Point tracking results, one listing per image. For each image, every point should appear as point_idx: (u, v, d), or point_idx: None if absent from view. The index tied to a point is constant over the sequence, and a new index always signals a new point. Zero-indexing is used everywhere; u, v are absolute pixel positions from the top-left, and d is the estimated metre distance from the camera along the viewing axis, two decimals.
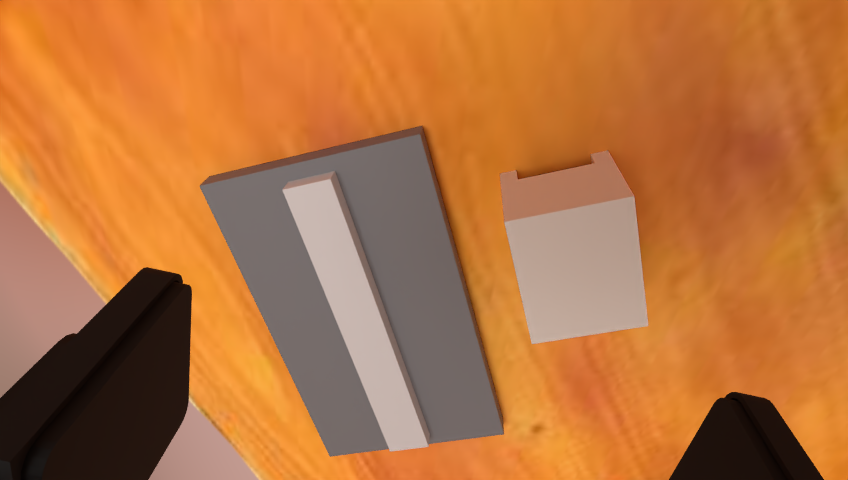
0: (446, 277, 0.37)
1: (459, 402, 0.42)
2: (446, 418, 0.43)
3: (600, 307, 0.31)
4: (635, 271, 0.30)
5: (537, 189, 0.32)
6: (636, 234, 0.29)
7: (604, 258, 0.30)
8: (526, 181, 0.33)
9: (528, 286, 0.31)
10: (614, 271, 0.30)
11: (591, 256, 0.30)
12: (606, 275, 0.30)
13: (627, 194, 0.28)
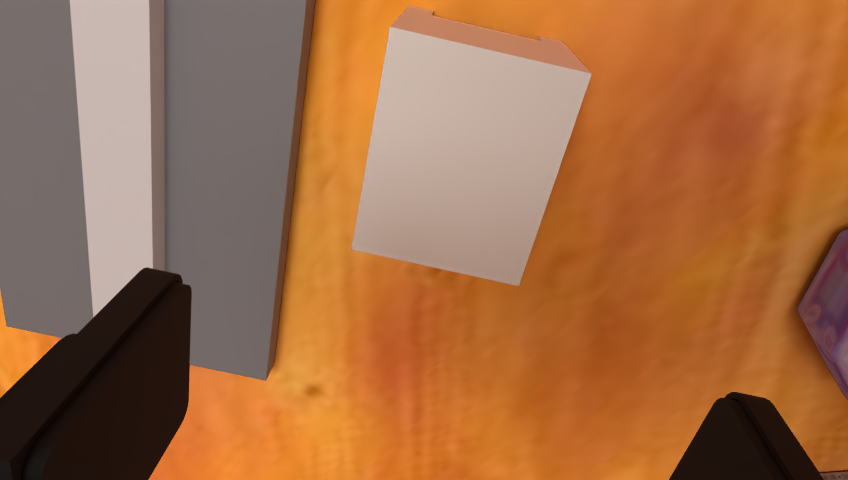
0: (273, 122, 0.24)
1: (222, 315, 0.29)
2: (195, 331, 0.30)
3: (468, 231, 0.21)
4: (539, 195, 0.20)
5: (455, 27, 0.21)
6: (566, 138, 0.19)
7: (507, 157, 0.19)
8: (442, 19, 0.22)
9: (383, 153, 0.20)
10: (511, 184, 0.20)
11: (491, 145, 0.19)
12: (498, 186, 0.20)
13: (582, 69, 0.18)
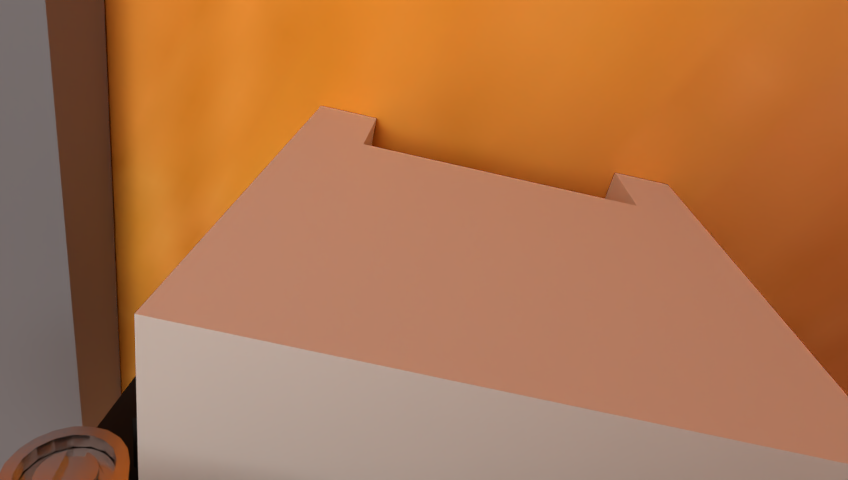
0: (33, 351, 0.11)
1: None
2: None
3: None
4: None
5: (416, 207, 0.07)
6: None
7: None
8: (389, 162, 0.08)
9: None
10: None
11: None
12: None
13: None
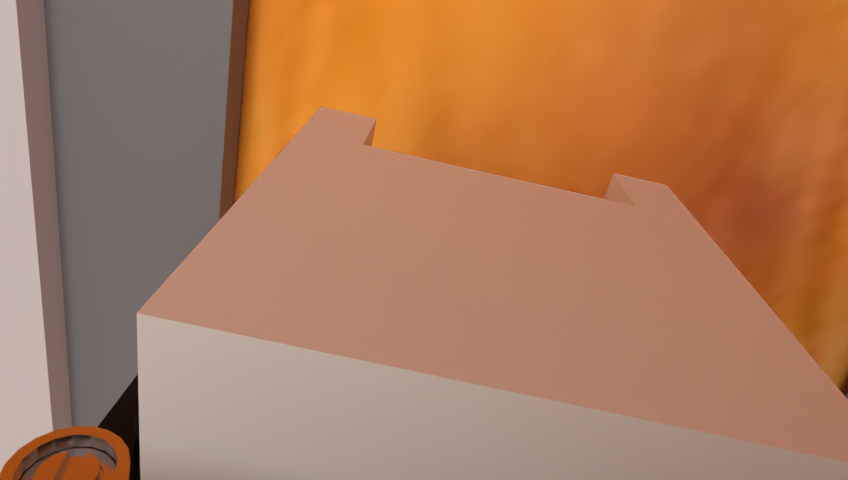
0: (194, 209, 0.20)
1: None
2: None
3: None
4: None
5: (416, 207, 0.07)
6: None
7: None
8: (389, 162, 0.09)
9: None
10: None
11: None
12: None
13: None
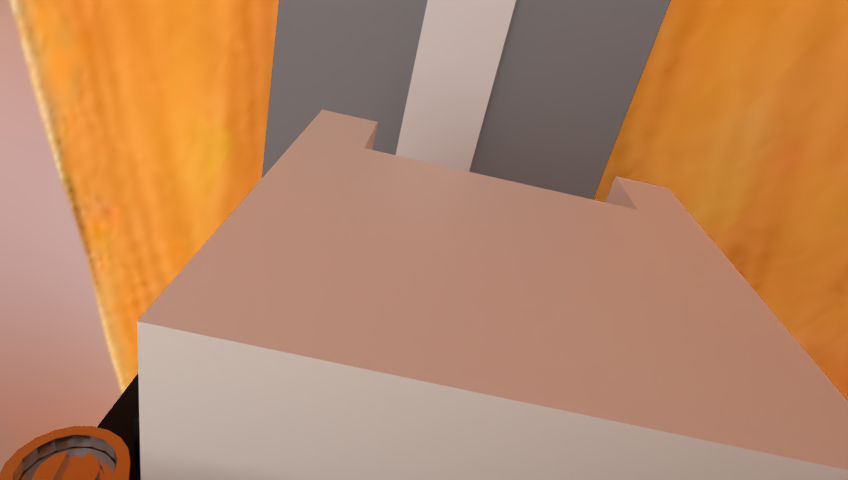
0: (603, 115, 0.23)
1: None
2: None
3: None
4: None
5: (417, 213, 0.07)
6: None
7: None
8: (390, 166, 0.08)
9: None
10: None
11: None
12: None
13: None
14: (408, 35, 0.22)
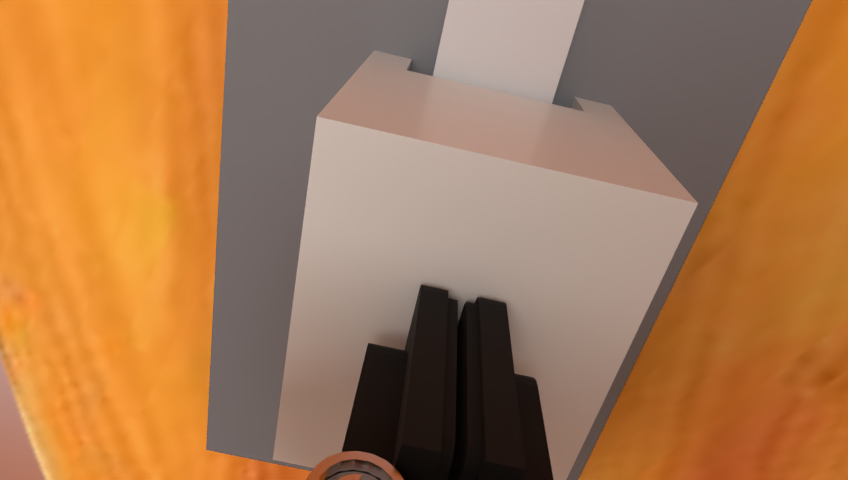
0: (690, 184, 0.16)
1: None
2: None
3: None
4: (589, 392, 0.11)
5: (444, 98, 0.12)
6: (642, 307, 0.10)
7: (534, 335, 0.11)
8: (424, 79, 0.13)
9: (317, 324, 0.11)
10: (540, 375, 0.11)
11: None
12: None
13: (677, 192, 0.10)
14: None
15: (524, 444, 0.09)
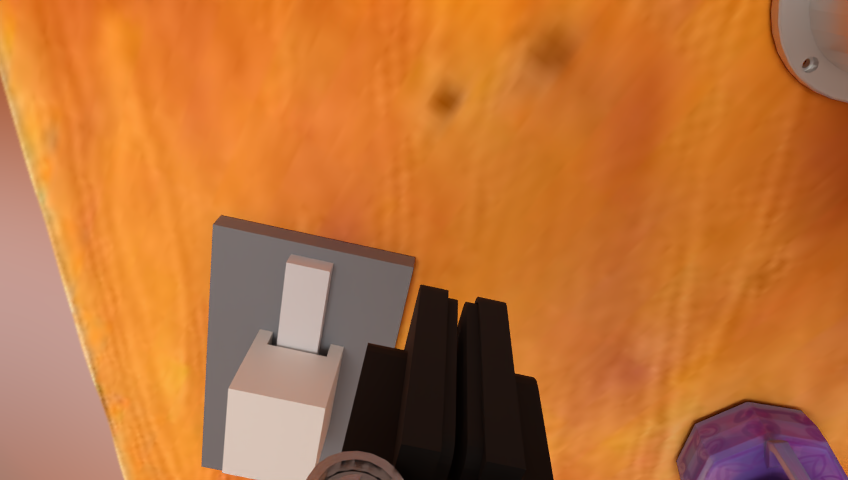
0: None
1: None
2: None
3: (280, 466, 0.40)
4: (312, 453, 0.40)
5: (272, 363, 0.40)
6: (319, 431, 0.39)
7: (293, 437, 0.39)
8: (271, 350, 0.41)
9: (232, 434, 0.39)
10: (297, 448, 0.39)
11: (284, 433, 0.39)
12: (291, 449, 0.40)
13: (322, 404, 0.38)
14: (274, 336, 0.43)
15: (524, 444, 0.09)
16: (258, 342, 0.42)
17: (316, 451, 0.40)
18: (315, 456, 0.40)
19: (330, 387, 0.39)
